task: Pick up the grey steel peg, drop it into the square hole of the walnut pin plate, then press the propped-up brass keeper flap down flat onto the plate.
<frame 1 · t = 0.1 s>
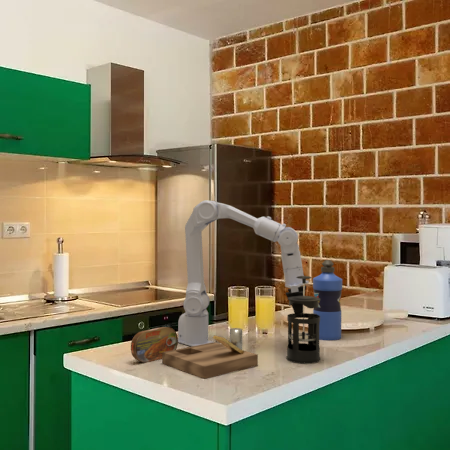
hand: (299, 313, 169), 11 cm above the counter, tool pointing down, fingers open, 7 cm apart
keeper flap: (228, 344, 150), point 6 cm above the counter, hinge at 34.2°, touching pin plate
tin: (154, 359, 157), on the counter
water bottle: (326, 337, 185), on the counter
french press: (304, 359, 158), on the counter
pin plate: (209, 364, 151), on the counter
peg: (235, 353, 163), on the counter
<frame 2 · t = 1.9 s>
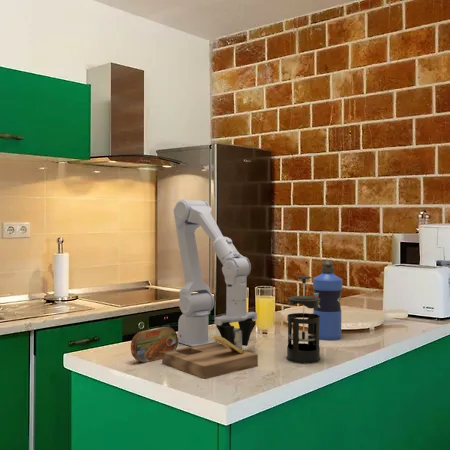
hand: (236, 347, 163), 2 cm above the counter, tool pointing down, fingers open, 6 cm apart
nothing on the counter moved.
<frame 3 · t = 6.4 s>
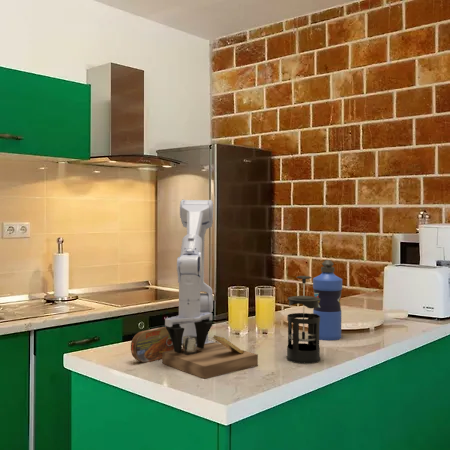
hand: (189, 350, 153), 3 cm above the counter, tool pointing down, fingers open, 7 cm apart
peg: (189, 362, 153), resting in pin plate
everything else where it was.
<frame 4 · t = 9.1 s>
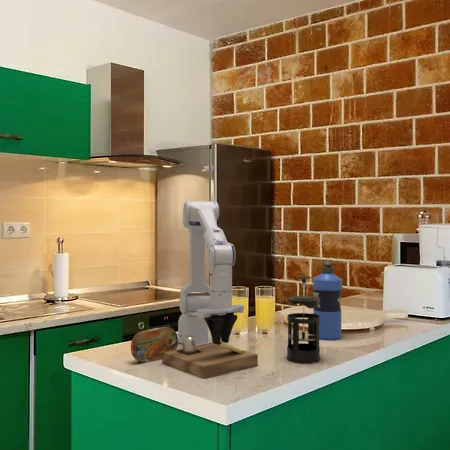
hand: (220, 343, 148), 6 cm above the counter, tool pointing down, fingers closed
keeper flap: (227, 346, 150), point 5 cm above the counter, hinge at 24.7°, touching gripper
everything else where it was.
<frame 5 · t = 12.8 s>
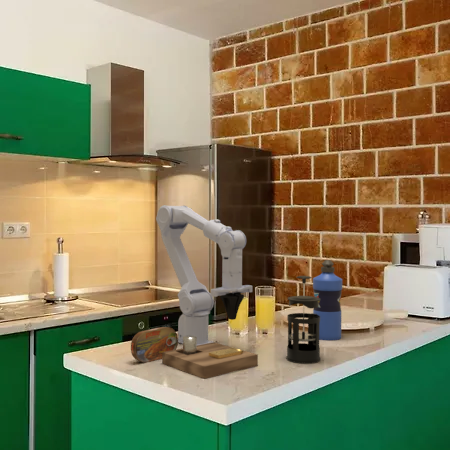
hand: (231, 319, 165), 9 cm above the counter, tool pointing down, fingers closed
keeper flap: (226, 352, 150), point 4 cm above the counter, hinge at 0.6°
everything else where it was.
at the end: peg 0.2 cm from the target spot on the pin plate, point 0.0 cm above the pin plate's base; peg tilted 0°; keeper flap at +1° (first picture: +34°) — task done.
